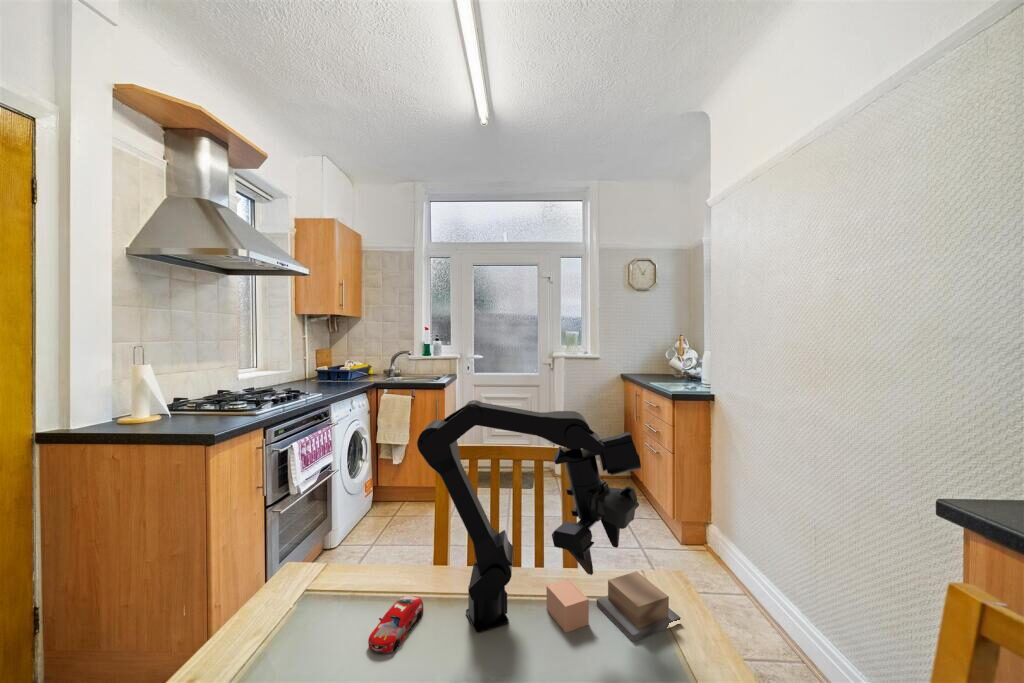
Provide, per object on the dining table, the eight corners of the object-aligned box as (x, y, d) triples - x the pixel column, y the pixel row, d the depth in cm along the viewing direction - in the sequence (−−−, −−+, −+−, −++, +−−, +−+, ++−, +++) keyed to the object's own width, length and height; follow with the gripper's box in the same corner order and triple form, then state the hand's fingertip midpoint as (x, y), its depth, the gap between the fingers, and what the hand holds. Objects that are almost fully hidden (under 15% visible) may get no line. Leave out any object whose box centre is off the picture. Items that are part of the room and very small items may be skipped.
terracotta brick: (565, 633, 83) (565, 606, 82) (546, 610, 89) (546, 585, 89) (588, 625, 85) (588, 599, 84) (568, 603, 91) (568, 579, 91)
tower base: (632, 641, 80) (632, 613, 80) (596, 605, 90) (596, 579, 90) (680, 623, 85) (681, 596, 84) (641, 590, 95) (641, 566, 94)
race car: (389, 661, 77) (388, 639, 76) (362, 653, 78) (361, 631, 78) (428, 611, 89) (428, 592, 89) (404, 606, 91) (404, 586, 90)
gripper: (595, 509, 72) (616, 602, 73) (647, 462, 86) (665, 541, 86) (541, 501, 80) (561, 585, 81) (597, 459, 93) (613, 532, 94)
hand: (603, 559), depth 85 cm, fingers open, 9 cm apart
